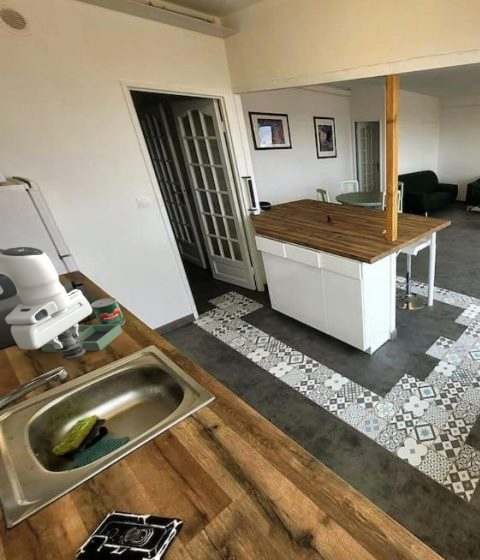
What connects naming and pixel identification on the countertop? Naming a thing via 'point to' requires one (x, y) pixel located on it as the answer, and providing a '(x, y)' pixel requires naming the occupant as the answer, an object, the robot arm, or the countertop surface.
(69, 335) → the grey statuette
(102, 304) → the canned tomato
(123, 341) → the countertop surface
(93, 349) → the tray
